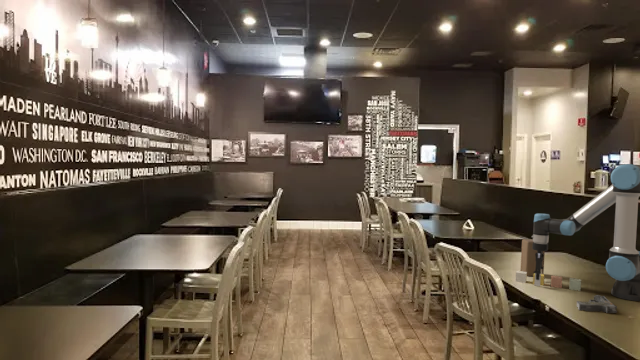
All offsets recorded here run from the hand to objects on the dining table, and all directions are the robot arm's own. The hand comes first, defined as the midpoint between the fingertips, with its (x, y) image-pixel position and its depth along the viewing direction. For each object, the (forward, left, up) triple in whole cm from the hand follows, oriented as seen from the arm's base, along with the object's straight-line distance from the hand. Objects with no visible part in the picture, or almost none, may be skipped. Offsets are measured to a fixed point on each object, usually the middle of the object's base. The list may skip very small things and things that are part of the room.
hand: (537, 283), depth 243 cm
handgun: (-37, +7, -1) cm, 38 cm away
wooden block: (+17, -13, 0) cm, 21 cm away
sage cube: (-13, -11, 0) cm, 17 cm away
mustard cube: (0, 0, 0) cm, 0 cm away
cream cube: (+6, +5, 0) cm, 8 cm away
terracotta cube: (-7, -6, 0) cm, 9 cm away
